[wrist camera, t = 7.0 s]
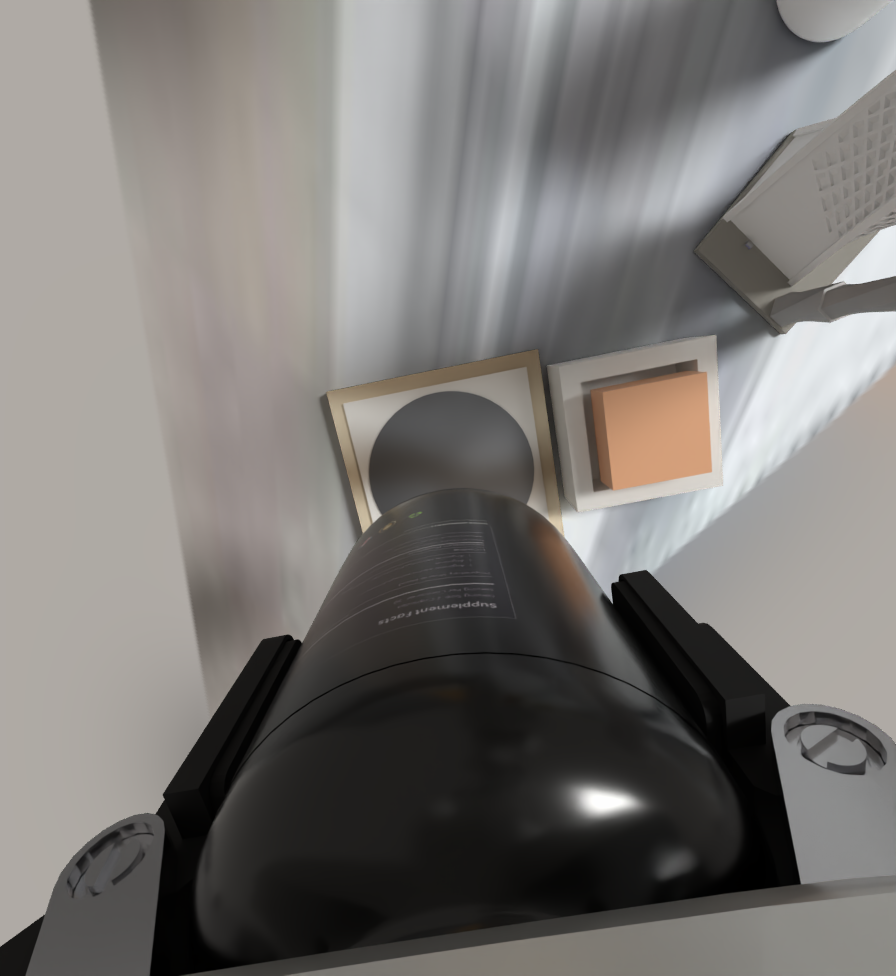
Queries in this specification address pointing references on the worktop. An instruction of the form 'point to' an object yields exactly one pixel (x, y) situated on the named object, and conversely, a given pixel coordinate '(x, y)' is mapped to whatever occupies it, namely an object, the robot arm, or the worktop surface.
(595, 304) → the worktop surface
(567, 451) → the button housing
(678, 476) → the button
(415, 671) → the supplement bottle
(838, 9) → the drinking glass
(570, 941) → the robot arm
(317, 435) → the worktop surface
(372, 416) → the cream square coaster
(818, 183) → the skyscraper
